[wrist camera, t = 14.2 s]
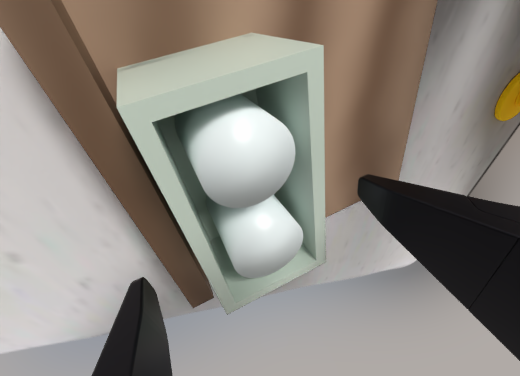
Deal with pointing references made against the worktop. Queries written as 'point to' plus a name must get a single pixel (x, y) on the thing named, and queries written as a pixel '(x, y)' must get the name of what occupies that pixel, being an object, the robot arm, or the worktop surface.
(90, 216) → the worktop surface
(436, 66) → the worktop surface
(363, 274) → the worktop surface
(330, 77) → the walnut shelf
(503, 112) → the candle
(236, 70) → the pale green crate
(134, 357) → the robot arm
